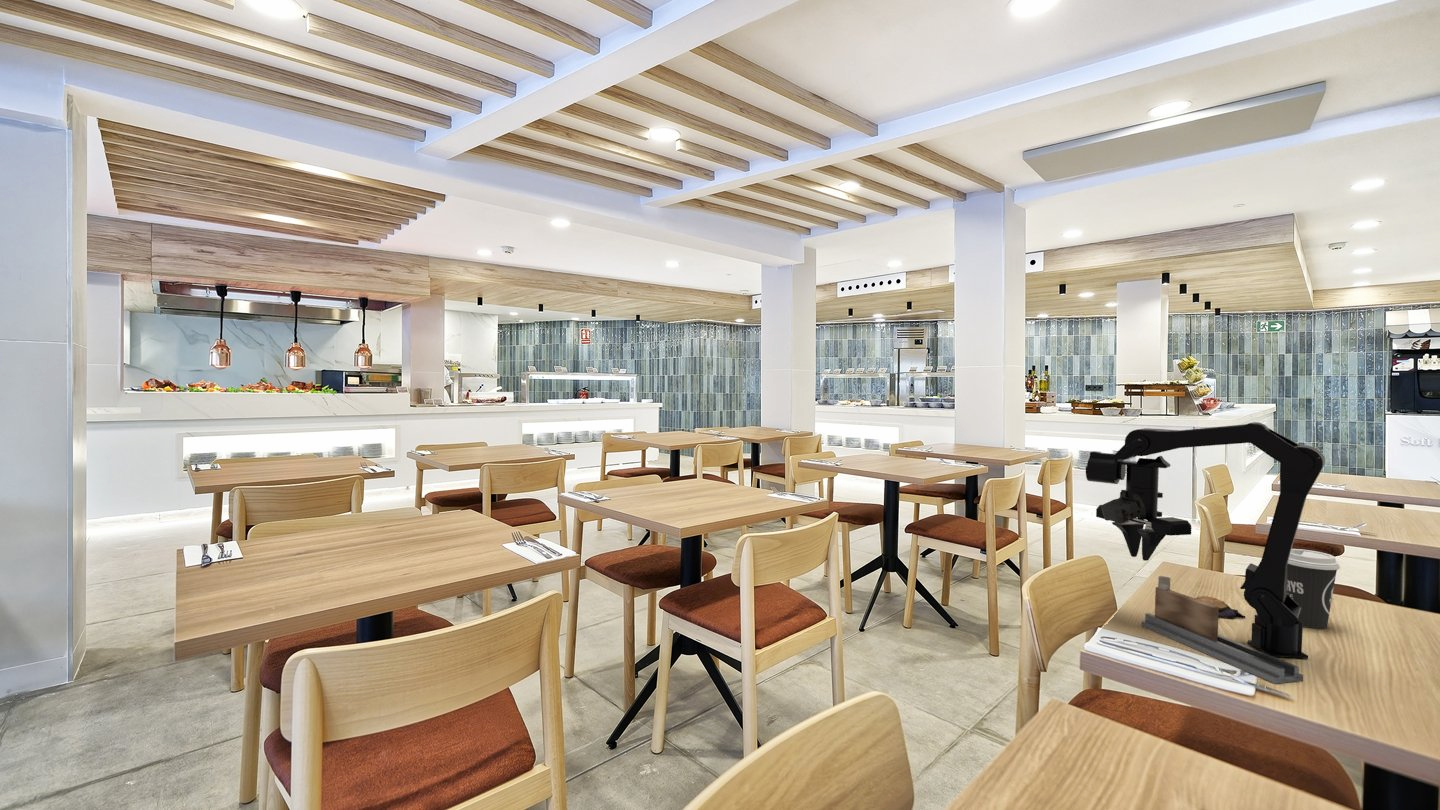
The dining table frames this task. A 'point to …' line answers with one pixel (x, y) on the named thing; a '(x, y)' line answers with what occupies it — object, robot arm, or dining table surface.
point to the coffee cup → (1312, 585)
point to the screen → (1185, 610)
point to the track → (1228, 651)
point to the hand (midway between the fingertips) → (1139, 558)
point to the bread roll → (1222, 608)
